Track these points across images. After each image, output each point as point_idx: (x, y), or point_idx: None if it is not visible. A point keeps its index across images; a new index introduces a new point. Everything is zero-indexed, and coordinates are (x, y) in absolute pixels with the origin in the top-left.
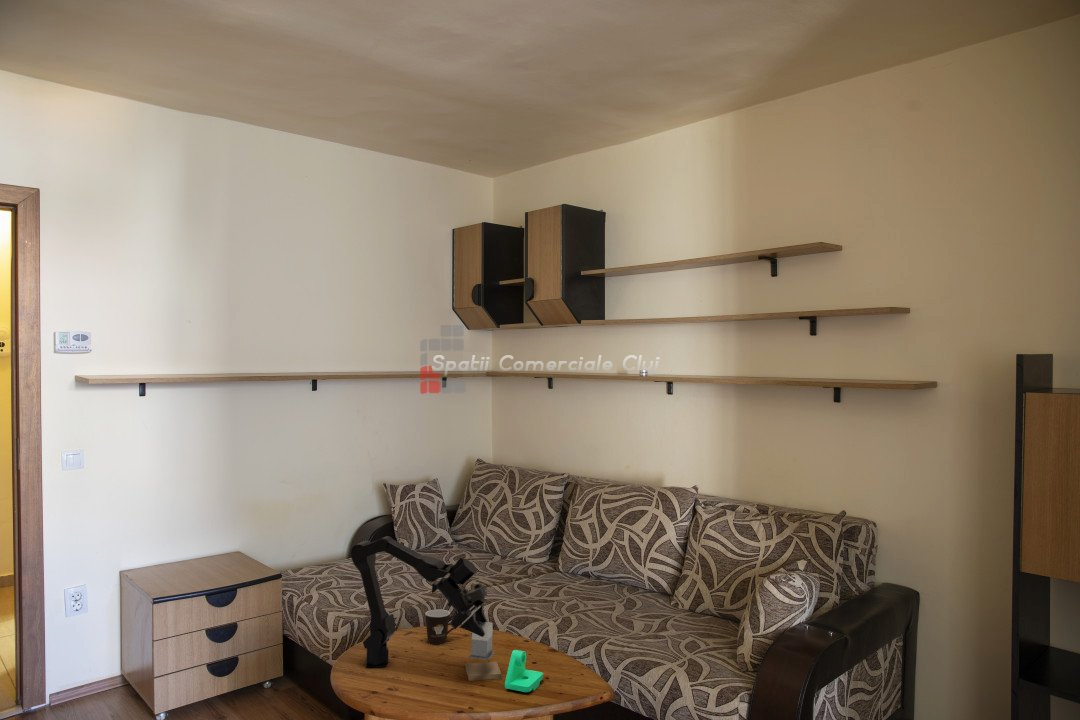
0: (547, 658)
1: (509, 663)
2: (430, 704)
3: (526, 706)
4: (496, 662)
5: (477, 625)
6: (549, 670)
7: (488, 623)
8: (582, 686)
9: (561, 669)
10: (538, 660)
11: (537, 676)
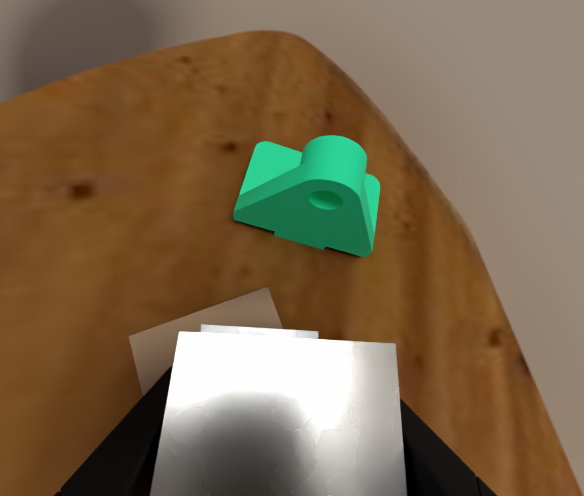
0: (32, 147)
1: (364, 219)
2: (534, 492)
3: (429, 191)
4: (141, 334)
5: (493, 492)
6: (164, 140)
7: (225, 381)
8: (275, 68)
9: (151, 107)
10: (56, 177)
11: (293, 157)
